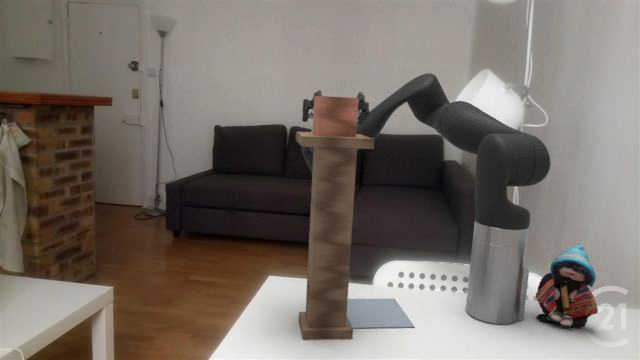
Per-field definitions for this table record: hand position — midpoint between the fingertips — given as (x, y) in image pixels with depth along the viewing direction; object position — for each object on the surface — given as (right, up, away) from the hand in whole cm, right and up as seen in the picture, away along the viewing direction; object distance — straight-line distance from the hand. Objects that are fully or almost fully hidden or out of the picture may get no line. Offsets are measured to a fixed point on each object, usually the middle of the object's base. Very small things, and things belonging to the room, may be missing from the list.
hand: (340, 95), depth 101 cm
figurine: (+39, -44, -13) cm, 60 cm away
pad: (+6, -41, -12) cm, 43 cm away
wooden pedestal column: (-4, -42, -17) cm, 45 cm away
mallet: (-3, -9, -17) cm, 19 cm away
